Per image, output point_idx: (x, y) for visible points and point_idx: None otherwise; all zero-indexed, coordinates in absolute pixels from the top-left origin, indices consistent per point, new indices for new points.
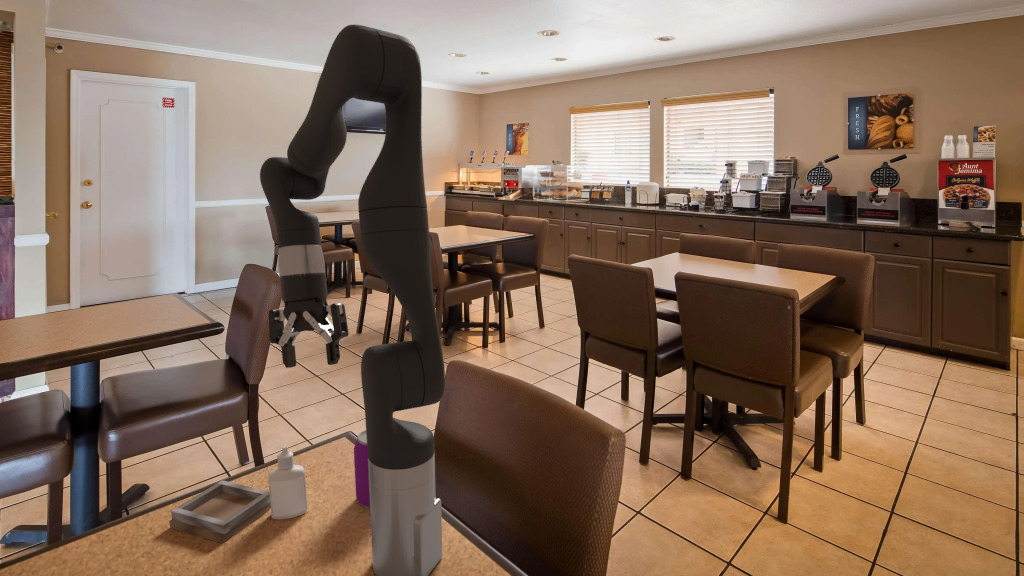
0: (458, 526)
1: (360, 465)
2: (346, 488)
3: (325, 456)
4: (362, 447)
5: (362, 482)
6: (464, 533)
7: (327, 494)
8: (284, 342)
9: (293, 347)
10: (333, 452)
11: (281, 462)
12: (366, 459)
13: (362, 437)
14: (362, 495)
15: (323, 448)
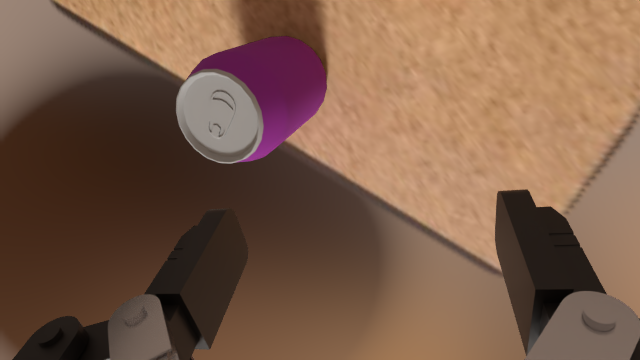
0: (135, 56)
1: (247, 49)
2: (371, 89)
3: None
4: (222, 65)
5: (262, 42)
6: (118, 43)
7: (394, 53)
8: (562, 319)
9: (523, 333)
10: None
11: None
12: (220, 52)
13: (246, 104)
14: (277, 38)
15: None
